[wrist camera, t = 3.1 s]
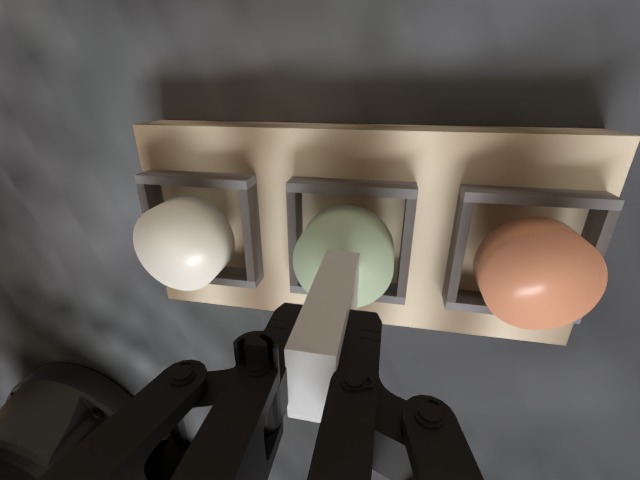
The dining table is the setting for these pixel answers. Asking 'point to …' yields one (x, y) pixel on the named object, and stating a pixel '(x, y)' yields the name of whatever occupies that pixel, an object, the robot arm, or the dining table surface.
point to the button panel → (385, 202)
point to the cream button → (184, 242)
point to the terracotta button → (539, 273)
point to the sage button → (347, 248)
